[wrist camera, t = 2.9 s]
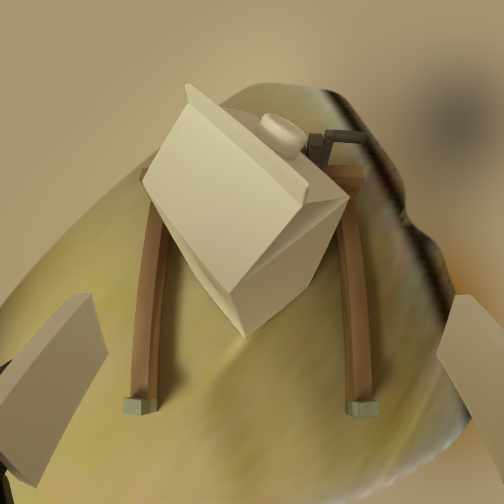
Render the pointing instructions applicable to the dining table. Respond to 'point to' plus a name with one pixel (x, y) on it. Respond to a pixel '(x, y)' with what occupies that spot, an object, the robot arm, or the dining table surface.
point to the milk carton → (244, 206)
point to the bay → (351, 287)
